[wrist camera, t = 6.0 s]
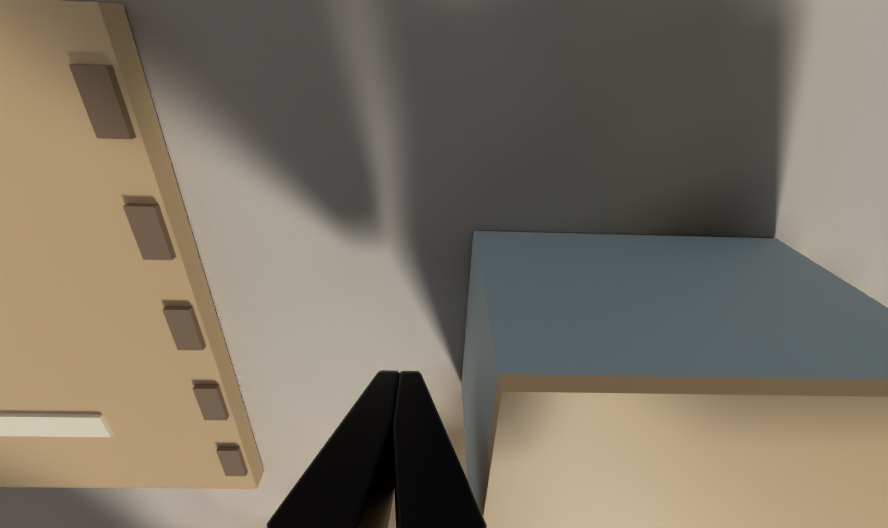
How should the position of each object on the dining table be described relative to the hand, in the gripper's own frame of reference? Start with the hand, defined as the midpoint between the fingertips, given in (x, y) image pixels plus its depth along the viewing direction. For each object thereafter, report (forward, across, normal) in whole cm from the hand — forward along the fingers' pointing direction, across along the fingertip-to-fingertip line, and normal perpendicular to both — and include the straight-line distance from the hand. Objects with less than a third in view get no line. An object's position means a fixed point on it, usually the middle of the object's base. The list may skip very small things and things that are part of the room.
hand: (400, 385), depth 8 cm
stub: (+2, -5, 0) cm, 6 cm away
